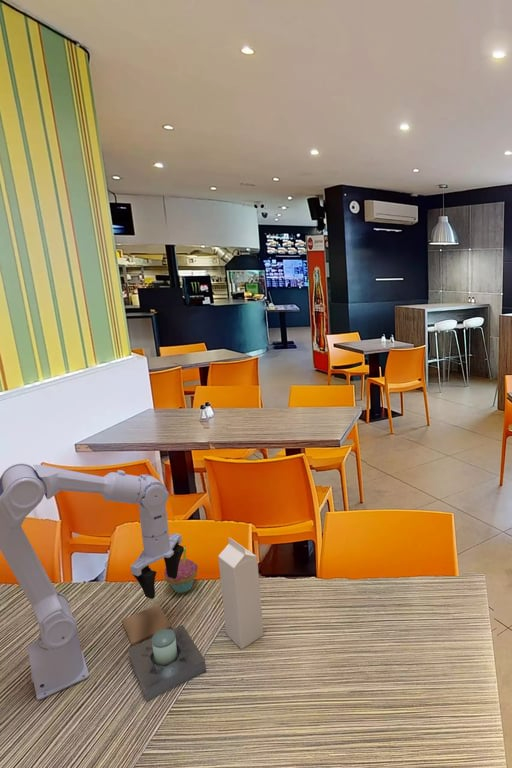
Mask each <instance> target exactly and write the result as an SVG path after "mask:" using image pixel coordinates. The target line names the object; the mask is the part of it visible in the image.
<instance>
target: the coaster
mask: <svg viewBox="0 0 512 768" xmlns="http://www.w3.org/2000/svg"><path fill="white" fill-rule="evenodd" d="M120 621H121V623H122V625H123V628H124V630H125V633H126V635H127V637H128V639H129V641H130V644H131V647H134V646H136V645H138V644H141V643H143V642H145V641H147V640H149V639H152V637H153V635H154V634H155V633H156V632H158V631H159V630H162V629H171V630H172V629H173V627H172V624H171V623H170V621H169V619H168V618H167V615H166V614H165V613H164V611H163V609H162V607H161V606H160V604H156V605H153V606H151V607H148V608H147V609H144V610H141V611H140V612H137V613H134V614H132V615H128V616H127V617H125V618H122V619H121V620H120Z"/></svg>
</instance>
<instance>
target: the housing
mask: <svg viewBox="0 0 512 768" xmlns="http://www.w3.org/2000/svg"><path fill="white" fill-rule="evenodd" d="M171 630H173V631H174V633H175V638H176V646H177V654H178V659H177V661H175V662H173V663H171V664H169V665H167V666H165V667H164V666H157V665H155V661H154V653H153V646H152V638H149V639H147V640H144V641H142V642H140V643H138V644H135V645H133V646H131V647H130V648H128V649H127V651H128V656H129V658H128V659H129V661H130V663H131V666H132V668H133V671H134V673H135V676H136V678H137V680H138V683H139V686H140V688H141V690H142V692H143V693H142V694H143V695H144V698H145V699H146V702H148V701H151V700H153V699H155V698H157V697H159V696H160V695H162V694H165V693H166V692H169V691H170V690H172V689H174V688H176V687H178V686H180V685H181V684H184V683H185V682H187V681H190V680H191V679H193V678H195V677H198V676H199V675H202V674H203V673H204V672H207V665H206V659H205V657H204V656H203V655H202V653H201V652H200V650H199V649H198V646H197V645H196V644H195V643H196V642H194V641H193V639H192V637H191V635H190V634H189V633H188V631H187V629H186V627H185V626H184V625H183V624H181V625H179V626H176V627H174V628H171Z"/></svg>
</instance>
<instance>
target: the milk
mask: <svg viewBox="0 0 512 768" xmlns="http://www.w3.org/2000/svg"><path fill="white" fill-rule="evenodd" d="M227 539H228V544H227V545H226V546H225V547H224V549H222V551H221V552H220V553H219V555H217V556H218V557H217V558H218V567H219V568H218V569H219V576H220V577H219V579H220V588H221V596H222V597H221V598H222V608H223V616H224V625H225V626H224V627H225V634H226V635H227V636H228V638H230V639H231V641H232V642H233V643H235V644H236V646H238V647H239V648H240V649H241V650H242V649H244V648H245V647H248V646H249V645H250V644H253V643H254V642H256V641H257V640H258V639H260V638H262V637H263V636H264V625H263V615H262V614H263V613H262V611H263V610H262V601H261V600H262V599H261V589H260V577H259V564H258V556H257V555H256V554H255V553H252V552H251V551H250V550H248V549H247V548H245V547H244V546H243V545H241V544H240V543H239V542H237V541H235V540H234V539H233V538H231V537H228V538H227Z"/></svg>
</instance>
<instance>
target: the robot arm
mask: <svg viewBox="0 0 512 768" xmlns="http://www.w3.org/2000/svg"><path fill="white" fill-rule="evenodd" d="M63 491H64V492H76V493H90V494H100V495H101V496H102V498H103V500H104V501H106V502H108V501H109V502H116V503H123V504H125V503H126V504H133V505H138V510H139V521H140V530H141V537H142V547H143V550H142V551H141V553H140V554H139V556H138V557H137V559H135V560H134V563H132V564H131V565H130V573H131V575H132V576H133V577H134V578H135V579H136V580H137V582H138V583H139V585H140V587H141V589H142V591H143V593H144V597H145V598H148V599H151V600H154V598H156V597H155V595H156V587H155V584H156V583H155V580H156V575H157V571H156V570H152V569H151V567H150V565H152V564H154V563H156V562H158V561H160V560H163V559H164V560H163V561H164V564H165V569H166V571H167V575H168V577H170V578H173V579H176V578H177V572H178V566H179V562H180V559H182V557H183V551H184V547H185V546H184V545H180V544H181V543H182V542H183V541H182V534H181V533H180V534H179V533H176V532H173V533H172V534H171V535H170V532H169V525H168V524H169V522H168V516H167V515H168V513H167V512H168V511H167V508H166V504H167V502H168V500H169V495H170V492H169V491H168V489H167V487H166V485H165V484H164V483H162V482H161V481H160V480H159V479H157V478H155V477H154V476H153V475H150V474H148V473H147V474H140V475H139V476H138V475H134V474H126V471H124V470H121V469H117V472H115V471H114V472H113V471H110V472H109V473H107V474H106V475H104V476H100V475H94V474H90V473H85V472H84V473H83V472H80V471H79V472H78V471H73V470H70V469H64V468H58V467H54V466H53V467H52V466H48V465H43V464H33V466H32V465H30V464H27V463H24V462H23V463H21V462H20V463H15V464H12V465H10V466H8V467H6V469H5V470H4V471H3V472H2V473H1V476H0V552H1V554H2V555H3V556H2V557H4V559H5V561H6V563H7V565H8V567H9V568H10V570H11V571H12V573H13V576H14V577H15V579H16V580H17V582H18V584H19V586H20V587H21V589H22V592H23V593H24V595H25V596H26V599H27V600H28V602H29V605H31V607H32V610H33V612H34V616H35V619H36V621H37V624H38V628H39V635H38V637H37V639H36V640H35V641H33V642H32V643H31V642H30V643H29V644H28V645H27V652H28V659H29V664H30V665H29V666H30V670H31V673H30V679H31V683H33V684H34V690H35V696H36V700H37V701H40V700H42V699H44V698H47V697H49V696H51V695H54V694H55V693H58V692H59V691H62V690H64V689H66V688H69V687H71V686H73V685H75V684H77V683H79V682H82V681H84V680H86V679H88V678H89V677H90V674H89V670H88V666H87V663H86V660H85V655H84V653H83V651H82V646H81V642H80V633H79V629H78V623H77V620H76V619H75V617H74V615H73V613H72V609H71V608H70V605H69V600H68V598H67V596H66V595H65V594H63V593H61V592H59V591H58V590H57V589H56V587H55V585H54V584H53V583H52V581H51V579H50V577H49V576H48V573H47V572H46V569H45V568H44V566H43V563H41V561H40V559H39V557H38V554H37V553H36V551H35V550H34V547H33V546H32V543H31V542H30V540H29V538H28V536H27V535H26V533H25V531H24V528H23V527H22V525H23V523H24V521H25V519H26V518H27V516H28V515H29V514H30V513H31V512H32V511H33V510H34V509H36V507H37V506H39V505H40V503H41V502H42V501H43V499H44V496H45V498H46V500H47V501H49V500H51V498H53V497H54V496H56V495H57V494H58V493H59V492H63Z"/></svg>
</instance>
